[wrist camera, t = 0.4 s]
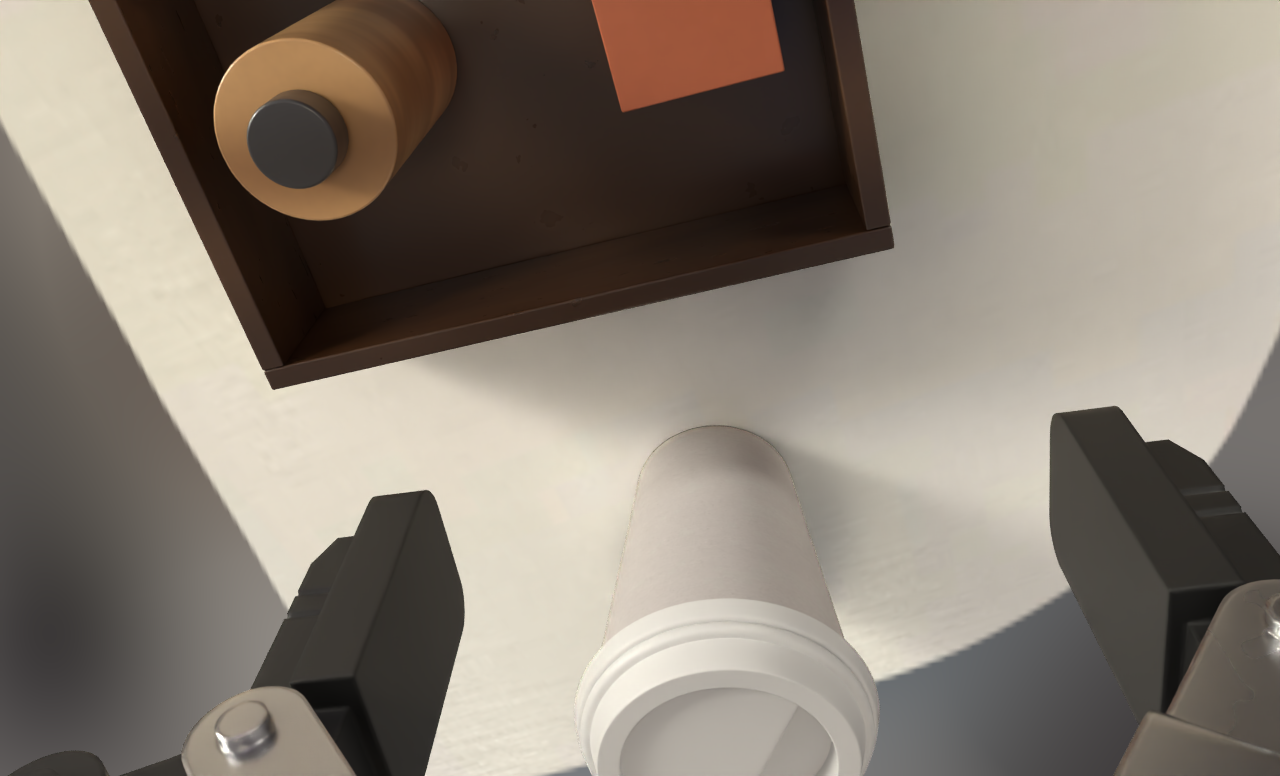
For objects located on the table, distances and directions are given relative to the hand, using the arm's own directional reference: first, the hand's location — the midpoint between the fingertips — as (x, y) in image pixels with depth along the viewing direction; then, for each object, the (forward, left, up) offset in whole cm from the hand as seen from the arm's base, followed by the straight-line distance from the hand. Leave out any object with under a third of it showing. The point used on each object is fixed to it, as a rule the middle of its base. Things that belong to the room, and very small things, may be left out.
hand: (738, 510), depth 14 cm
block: (-3, 0, -26) cm, 26 cm away
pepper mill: (-3, -10, -26) cm, 28 cm away
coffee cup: (+17, -3, -27) cm, 32 cm away
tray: (-3, -6, -27) cm, 28 cm away
